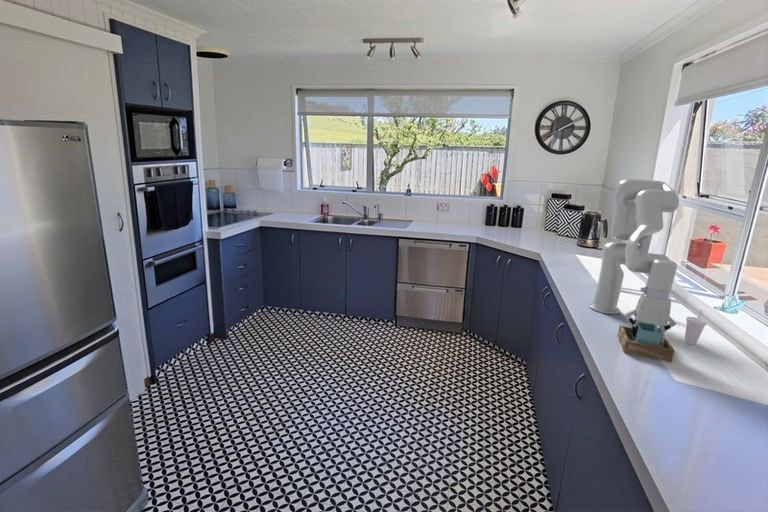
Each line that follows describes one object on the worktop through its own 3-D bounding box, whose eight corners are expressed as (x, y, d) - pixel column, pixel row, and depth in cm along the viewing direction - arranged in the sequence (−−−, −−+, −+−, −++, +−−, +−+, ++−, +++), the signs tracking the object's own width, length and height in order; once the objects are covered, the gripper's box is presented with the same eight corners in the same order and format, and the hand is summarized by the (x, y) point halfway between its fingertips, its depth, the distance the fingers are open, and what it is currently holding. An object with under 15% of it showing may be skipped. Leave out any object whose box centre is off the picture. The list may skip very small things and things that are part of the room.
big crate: (617, 335, 164) (619, 325, 163) (660, 344, 160) (663, 333, 158) (623, 352, 151) (626, 341, 150) (671, 362, 146) (674, 350, 145)
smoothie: (691, 347, 159) (701, 313, 155) (676, 339, 165) (685, 306, 161) (704, 346, 161) (714, 312, 157) (688, 338, 166) (698, 305, 163)
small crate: (631, 333, 160) (634, 319, 159) (652, 337, 158) (656, 323, 156) (636, 344, 151) (640, 329, 150) (658, 349, 149) (662, 334, 147)
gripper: (631, 291, 149) (620, 337, 154) (688, 301, 143) (675, 347, 148) (627, 285, 156) (617, 329, 160) (682, 294, 150) (669, 339, 155)
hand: (645, 337), depth 154 cm, fingers closed on small crate, 7 cm apart
